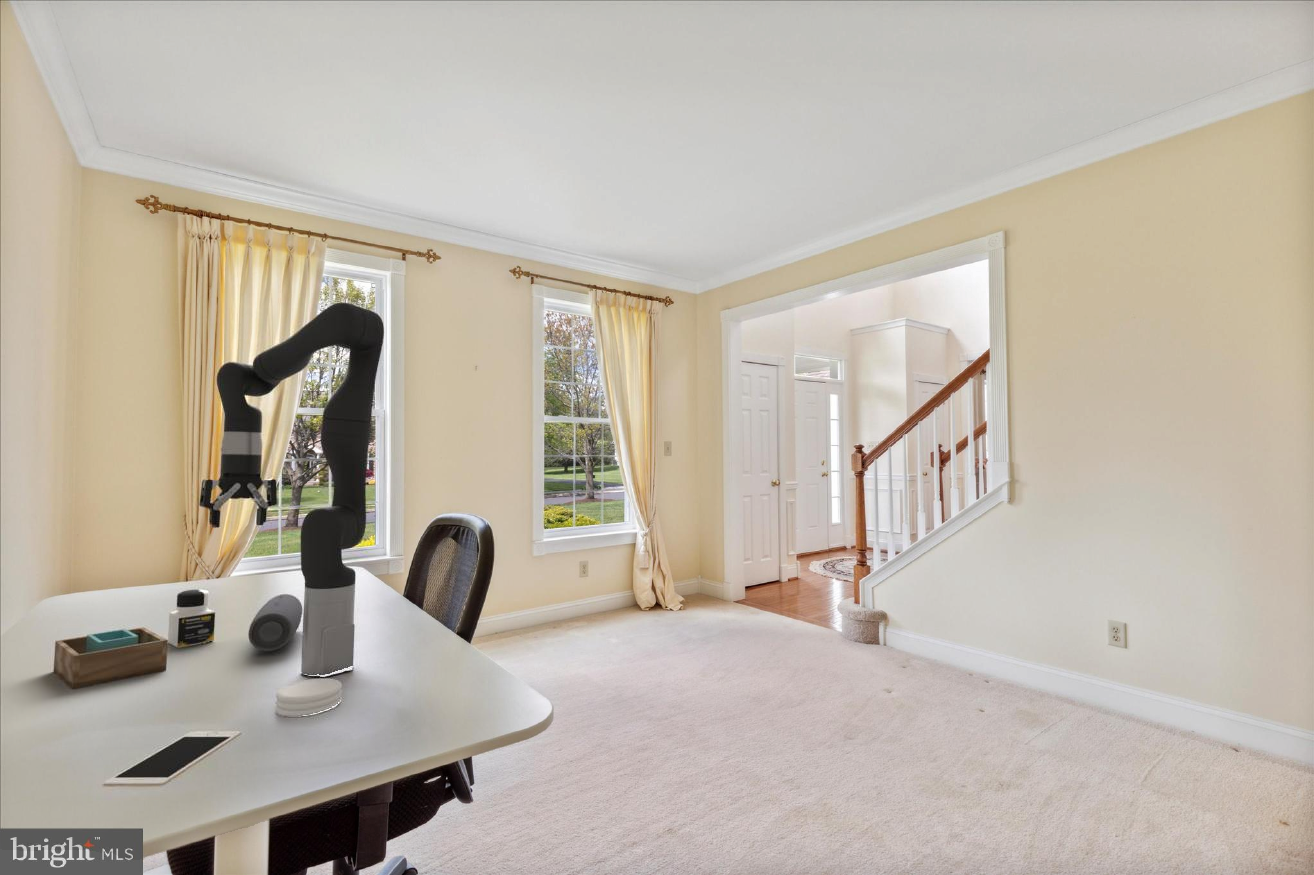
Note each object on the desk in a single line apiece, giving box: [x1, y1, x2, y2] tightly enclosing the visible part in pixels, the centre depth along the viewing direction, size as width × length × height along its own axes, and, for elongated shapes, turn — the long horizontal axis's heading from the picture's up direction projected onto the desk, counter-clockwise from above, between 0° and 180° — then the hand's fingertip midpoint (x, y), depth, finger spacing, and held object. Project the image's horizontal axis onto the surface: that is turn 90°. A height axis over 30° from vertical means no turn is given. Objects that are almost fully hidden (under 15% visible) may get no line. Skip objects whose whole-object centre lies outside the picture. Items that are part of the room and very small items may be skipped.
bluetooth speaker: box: [247, 593, 303, 652], centre depth 145 cm, size 23×9×10 cm, turn 25°
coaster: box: [274, 677, 343, 718], centre depth 107 cm, size 10×10×4 cm
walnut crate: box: [53, 626, 169, 690], centre depth 124 cm, size 16×14×6 cm
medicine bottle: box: [167, 588, 216, 649], centre depth 145 cm, size 7×7×12 cm
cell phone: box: [103, 730, 242, 786], centre depth 88 cm, size 8×16×1 cm, turn 1°
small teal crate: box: [86, 628, 138, 653], centre depth 124 cm, size 9×6×6 cm, turn 54°
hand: (238, 526), depth 137 cm, fingers open, 8 cm apart
